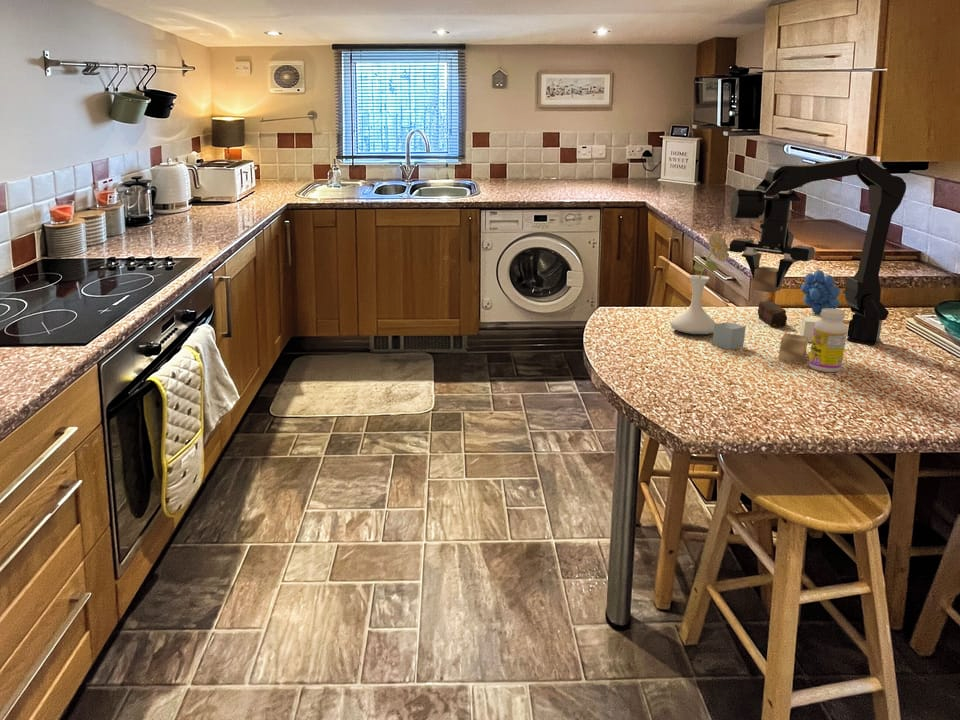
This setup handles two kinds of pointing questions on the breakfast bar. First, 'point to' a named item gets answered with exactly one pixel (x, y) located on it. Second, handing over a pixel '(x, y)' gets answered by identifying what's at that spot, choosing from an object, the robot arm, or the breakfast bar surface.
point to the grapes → (820, 292)
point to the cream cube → (808, 327)
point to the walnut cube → (766, 279)
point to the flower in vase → (695, 316)
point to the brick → (772, 314)
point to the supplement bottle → (828, 341)
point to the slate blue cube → (728, 335)
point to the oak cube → (793, 348)
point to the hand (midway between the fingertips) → (766, 285)
